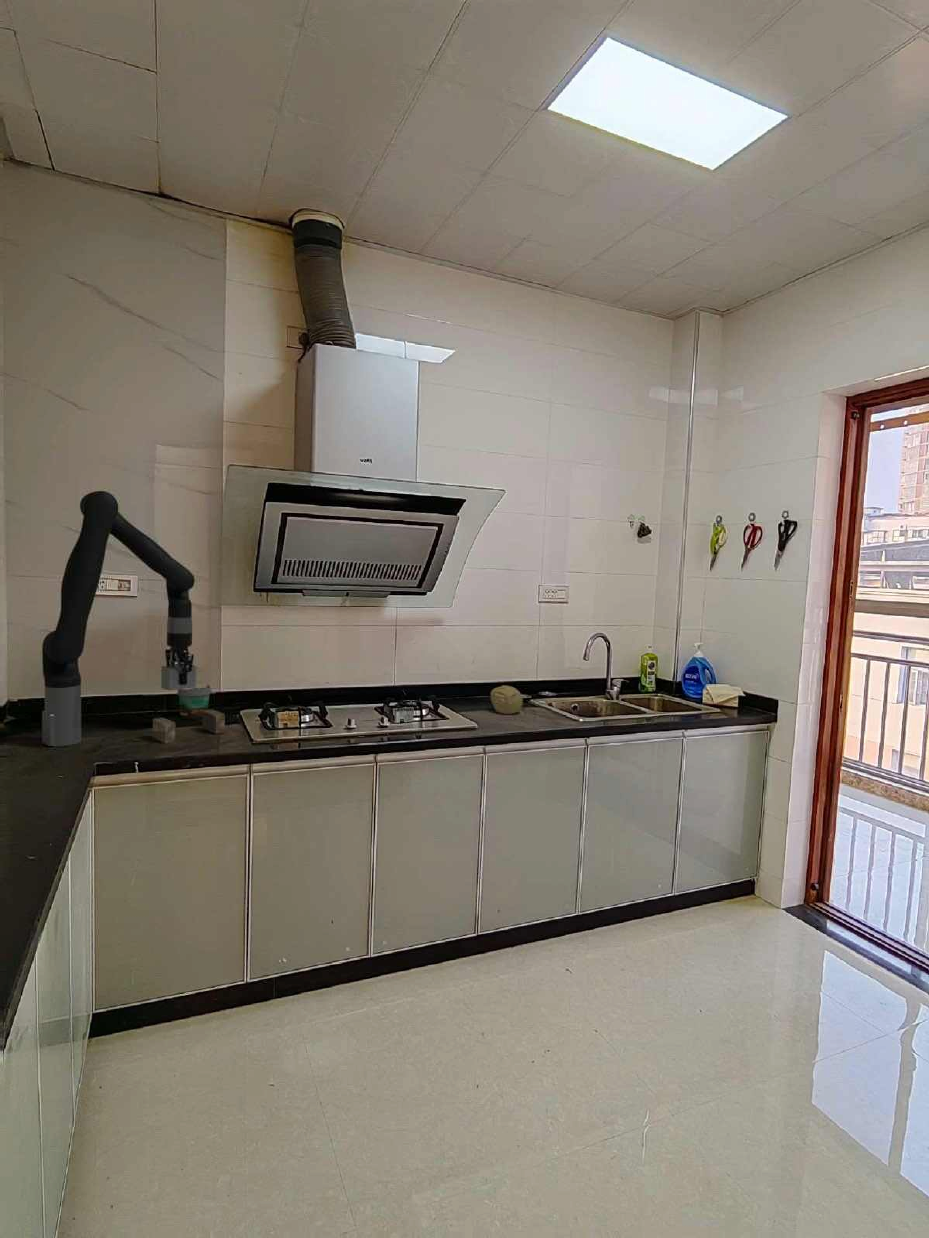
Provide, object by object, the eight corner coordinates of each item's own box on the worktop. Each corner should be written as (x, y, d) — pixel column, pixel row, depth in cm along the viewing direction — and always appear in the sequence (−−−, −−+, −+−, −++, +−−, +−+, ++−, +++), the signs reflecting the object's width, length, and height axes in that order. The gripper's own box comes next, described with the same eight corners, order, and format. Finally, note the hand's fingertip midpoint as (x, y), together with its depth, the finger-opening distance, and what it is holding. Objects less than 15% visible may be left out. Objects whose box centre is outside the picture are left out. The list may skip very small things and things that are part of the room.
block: (169, 690, 220) (169, 668, 219) (161, 687, 223) (161, 666, 222) (195, 687, 227) (196, 666, 226) (187, 684, 230) (188, 663, 229)
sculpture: (485, 711, 274) (486, 684, 273) (506, 708, 282) (508, 681, 281) (506, 717, 266) (507, 689, 265) (527, 713, 274) (529, 686, 273)
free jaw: (214, 733, 222) (214, 715, 221) (201, 728, 227) (201, 710, 226) (224, 732, 224) (224, 713, 224) (211, 727, 229) (211, 709, 229)
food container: (186, 720, 238) (186, 691, 237) (176, 717, 242) (176, 688, 241) (218, 714, 248) (218, 687, 247) (208, 712, 252) (208, 684, 251)
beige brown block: (165, 743, 209) (165, 724, 209) (152, 738, 215) (152, 719, 214) (176, 741, 212) (176, 722, 211) (163, 736, 217) (163, 717, 217)
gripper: (157, 629, 225) (156, 681, 226) (180, 634, 216) (179, 688, 217) (179, 628, 231) (178, 678, 232) (202, 632, 222) (201, 685, 223)
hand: (178, 683), depth 225 cm, fingers closed on block, 5 cm apart
